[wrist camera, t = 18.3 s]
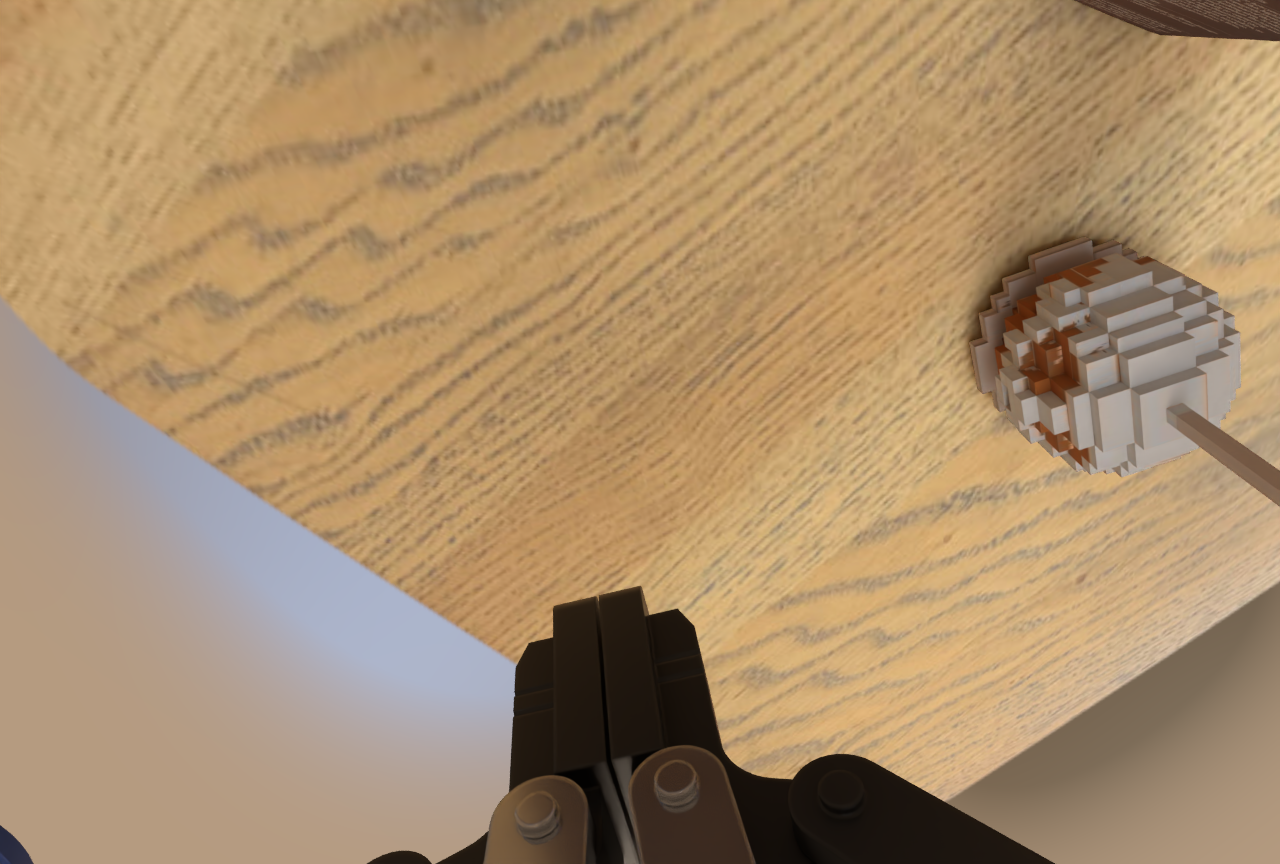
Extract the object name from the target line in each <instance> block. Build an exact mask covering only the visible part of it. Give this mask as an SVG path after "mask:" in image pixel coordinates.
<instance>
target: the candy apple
mask: <svg viewBox="0 0 1280 864" xmlns="http://www.w3.org/2000/svg"><path fill="white" fill-rule="evenodd" d="M1028 261H1029V268H1030V269H1028V270H1025V271H1022V272H1019V273H1017V274H1014V275H1011V276H1008V277H1005V278H1002V283H1003V289H1004V291H1003V292H1000V293H997V294H994V295H992V296H990V299H991V305H992V309H989V310H986V311H983V312H980V313H979V319H980V325H981V331H982V338H979V339H976V340H974V341H971V342H969V344H970V349H971V355H972V361H973V366H974V372H975V378H976V383H977V388H978V389H979V391H980V392H981V393H982V394H984V393H987V392H990V391H992V397H993V403H994V407H995V408H996V409H997V410H998V411H999V412H1002V411H1005V410H1006V415H1007V419H1008V420H1009V421H1010V422H1011V423H1012V424H1013V425H1014V426H1015V427H1016V428H1017V429H1018V431H1019V432H1020V433H1021V434H1022V435H1023V436H1024V437H1025V438H1026V439H1027V440H1028V441H1029V442H1030V443H1031V444H1032V443H1035V442H1038V443H1039V444H1040V445H1041V446H1042V447H1043V448H1044V449H1045V450H1046V451H1047V452H1048V453H1049V454H1050V455H1051V456H1052V457H1053V458H1054V457H1057V456H1061V457H1062V458H1063V459H1064V460H1065V461H1066V462H1067V463H1068V464H1069V465H1070V466H1071V467H1072V468H1073V469H1074V470H1075V471H1076V472H1078V471H1081V470H1083V471H1084V472H1085V471H1087V472H1088V473H1089V474H1090V475H1092V474H1095V473H1098V472H1101V471H1103V472H1104V473H1106V474H1109V473H1112V472H1116V473H1117V474H1118V475H1119V476H1120V477H1124V476H1127V475H1131V474H1134V473H1137V472H1140V471H1143V470H1146V469H1149V468H1152V467H1155V466H1158V465H1162V464H1165V463H1168V462H1171V461H1174V460H1177V459H1180V458H1181V456H1183V455H1186V454H1189V453H1190V451H1192V450H1195V449H1198V448H1199V447H1201V448H1202V449H1203V450H1205V451H1206V452H1207V453H1209V454H1210V455H1211V456H1213V457H1214V458H1215V459H1217V460H1218V461H1219V462H1221V463H1222V464H1223V465H1225V466H1226V467H1228V468H1229V469H1230V470H1232V471H1233V472H1234V473H1236V474H1237V475H1238V476H1240V477H1241V478H1242V479H1244V480H1245V481H1246V482H1248V483H1249V484H1250V485H1252V486H1253V487H1254V488H1256V489H1257V490H1258V491H1260V492H1261V493H1262V494H1264V495H1265V496H1266V497H1268V498H1269V499H1270V500H1272V501H1273V502H1274V503H1276V504H1277V505H1278V506H1280V471H1279V470H1278V469H1276V468H1275V467H1274V466H1272V465H1271V464H1269V463H1268V462H1266V461H1265V460H1264V459H1262V458H1261V457H1259V456H1258V455H1256V454H1255V453H1254V452H1252V451H1251V450H1249V449H1248V448H1246V447H1245V446H1244V445H1242V444H1241V443H1239V442H1238V441H1236V440H1235V439H1234V438H1232V437H1231V436H1229V435H1228V434H1226V433H1225V432H1224V431H1222V430H1221V429H1220V420H1223V419H1226V413H1227V412H1230V401H1232V400H1235V399H1236V389H1237V388H1240V387H1241V362H1240V332H1238V331H1236V330H1235V316H1234V315H1232V314H1230V313H1228V312H1226V311H1224V310H1223V309H1222V308H1220V307H1218V293H1217V292H1215V291H1213V290H1211V289H1209V288H1207V287H1205V286H1203V285H1202V284H1201V283H1199V282H1197V281H1195V280H1193V279H1191V278H1189V277H1187V276H1185V275H1184V274H1182V273H1180V272H1178V271H1176V270H1174V269H1172V268H1170V267H1168V266H1166V265H1164V264H1162V263H1160V262H1158V261H1156V260H1154V259H1152V258H1150V257H1148V256H1147V257H1144V256H1143V257H1140V258H1137V252H1136V251H1134V250H1132V249H1130V248H1128V249H1125V250H1122V244H1121V243H1119V242H1117V241H1115V240H1112V241H1109V242H1106V243H1103V244H1100V245H1097V246H1095V247H1092V240H1090V239H1088V238H1086V237H1081V238H1078V239H1075V240H1072V241H1069V242H1067V243H1064V244H1061V245H1058V246H1055V247H1052V248H1049V249H1046V250H1044V251H1041V252H1038V253H1035V254H1032V255H1029V256H1028Z"/></svg>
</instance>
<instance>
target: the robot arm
mask: <svg viewBox="0 0 1280 864" xmlns="http://www.w3.org/2000/svg"><path fill="white" fill-rule="evenodd" d="M514 692H515V697H514V710H513V711H514V717H513V729H512V749H511V767H510V786H509V793H508V794H507V795H506V796H505V797H504V798H503V799H502V800H501V801H500V803H499V804H498V806H497V807H496V809H495V811H494V813H493V815H492V818H491V821H490V826H489V831H488V832H486V833H485V835H483V836H482V837H481V838H480V839H478V840H477V841H476V842H474V843H473V844H471V845H470V846H468V847H466V848H464V849H463V850H461V851H459V852H457V853H455V854H453V855H451V856H449V857H448V858H446V859H444V860H442V861H440V862H438V863H436V864H1055V863H1053V862H1051V861H1049V860H1048V859H1046V858H1044V857H1042V856H1041V855H1039V854H1037V853H1035V852H1033V851H1032V850H1030V849H1028V848H1026V847H1024V846H1022V845H1021V844H1019V843H1017V842H1015V841H1014V840H1011V839H1010V838H1008V837H1006V836H1005V835H1003V834H1001V833H999V832H997V831H996V830H994V829H992V828H990V827H988V826H987V825H985V824H983V823H981V822H979V821H978V820H976V819H974V818H972V817H971V816H969V815H967V814H965V813H963V812H961V811H960V810H958V809H956V808H955V807H953V806H951V805H949V804H947V803H946V802H944V801H942V800H940V799H938V798H937V797H935V796H933V795H931V794H929V793H928V792H926V791H924V790H922V789H921V788H919V787H917V786H915V785H913V784H912V783H910V782H908V781H906V780H904V779H903V778H901V777H899V776H897V775H895V774H894V773H892V772H890V771H888V770H886V769H885V768H883V767H881V766H879V765H878V764H876V763H874V762H872V761H870V760H868V759H866V758H863V757H859V756H856V755H849V754H834V755H827V756H824V757H820V758H818V759H816V760H813V761H811V762H810V763H808V764H807V765H805V766H804V767H803V768H802V769H801V770H800V771H799V772H798V773H797V774H796V775H795V777H794V778H793V780H792V779H777V778H767V777H761V776H757V775H754V774H751V773H749V772H746V771H744V770H743V769H741V768H739V767H738V766H737V765H735V764H734V763H733V762H732V761H731V760H730V759H729V758H728V757H727V755H726V754H725V752H724V750H723V748H722V743H721V739H720V734H719V730H718V725H717V721H716V717H715V712H714V708H713V703H712V699H711V694H710V690H709V686H708V682H707V677H706V673H705V669H704V665H703V661H702V656H701V652H700V648H699V644H698V640H697V635H696V631H695V627H694V625H693V624H692V623H691V622H690V621H689V620H688V619H687V618H686V617H685V616H684V615H683V614H682V613H681V612H680V611H679V610H678V609H674V610H669V611H665V612H661V613H656V614H652V615H649V612H648V608H647V605H646V601H645V597H644V594H643V590H642V587H641V586H637V587H633V588H629V589H624V590H620V591H616V592H611V593H607V594H603V595H599V601H598V598H597V597H596V596H595V597H590V598H586V599H582V600H577V601H573V602H569V603H564V604H560V605H556V606H554V608H553V638H549V639H544V640H540V641H536V642H531V643H529V644H528V646H527V648H526V650H525V651H524V653H523V655H522V657H521V659H520V661H519V662H518V664H517V666H516V672H515V691H514ZM367 864H432V863H431V862H430V861H429V860H428V859H427V858H426V857H425V856H423V855H422V854H419V853H417V852H412V851H396V852H391V853H388V854H385V855H382V856H380V857H378V858H376V859H374V860H372V861H371V862H369V863H367Z"/></svg>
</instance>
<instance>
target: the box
mask: <svg viewBox="0 0 1280 864" xmlns="http://www.w3.org/2000/svg"><path fill="white" fill-rule="evenodd" d="M1075 1H1078V2H1080V3H1082V4H1085V5H1087V6H1089V7H1091V8H1094V9H1097V10H1099V11H1101V12H1104V13H1106V14H1108V15H1111V16H1113V17H1116V18H1118V19H1121V20H1123V21H1126V22H1128V23H1131V24H1133V25H1136V26H1138V27H1141V28H1143V29H1145V30H1148V31H1151V32H1154V33H1156V34H1159V35H1171V36H1172V35H1175V36H1190V37H1208V38H1227V39H1250V40H1253V39H1254V40H1269V41H1280V0H1075Z"/></svg>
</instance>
